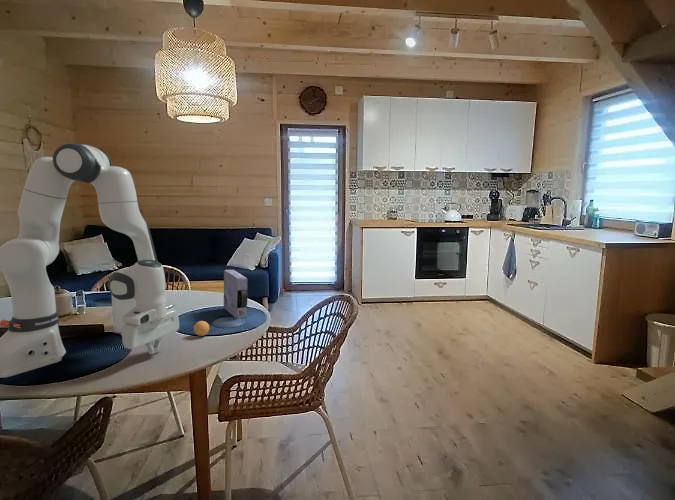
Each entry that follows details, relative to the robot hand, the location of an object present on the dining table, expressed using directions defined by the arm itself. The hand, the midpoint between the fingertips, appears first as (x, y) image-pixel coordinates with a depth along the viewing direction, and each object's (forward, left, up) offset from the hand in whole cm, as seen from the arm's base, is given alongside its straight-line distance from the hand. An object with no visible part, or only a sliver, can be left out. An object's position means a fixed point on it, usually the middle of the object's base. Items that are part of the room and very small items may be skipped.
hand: (153, 352), depth 137 cm
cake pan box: (+50, +5, -2) cm, 50 cm away
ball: (+22, 0, +1) cm, 22 cm away
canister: (+18, +29, -2) cm, 34 cm away
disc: (+38, 0, -2) cm, 39 cm away
